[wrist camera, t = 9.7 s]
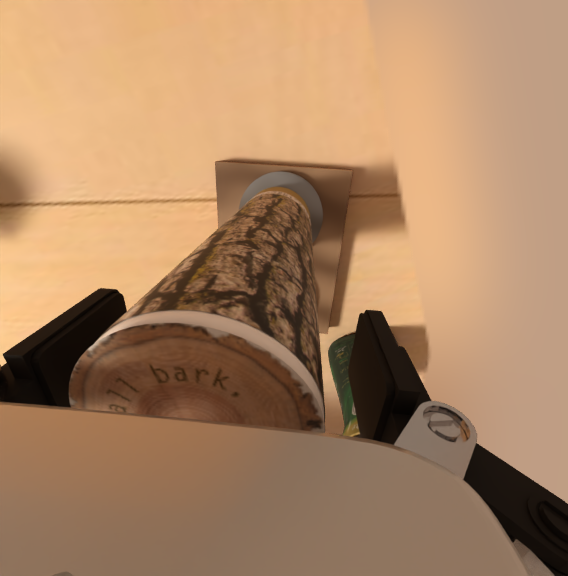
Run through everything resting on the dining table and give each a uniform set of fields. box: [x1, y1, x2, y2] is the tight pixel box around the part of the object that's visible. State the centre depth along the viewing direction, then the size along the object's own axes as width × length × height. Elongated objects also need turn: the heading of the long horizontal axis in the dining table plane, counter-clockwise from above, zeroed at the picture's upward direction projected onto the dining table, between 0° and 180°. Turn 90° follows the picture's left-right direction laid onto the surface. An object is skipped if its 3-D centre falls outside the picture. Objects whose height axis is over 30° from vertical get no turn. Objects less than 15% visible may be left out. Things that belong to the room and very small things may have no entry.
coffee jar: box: [328, 334, 360, 438], centre depth 31 cm, size 10×8×19 cm
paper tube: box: [69, 187, 325, 433], centre depth 19 cm, size 7×7×25 cm
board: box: [215, 161, 353, 334], centre depth 33 cm, size 20×14×2 cm
